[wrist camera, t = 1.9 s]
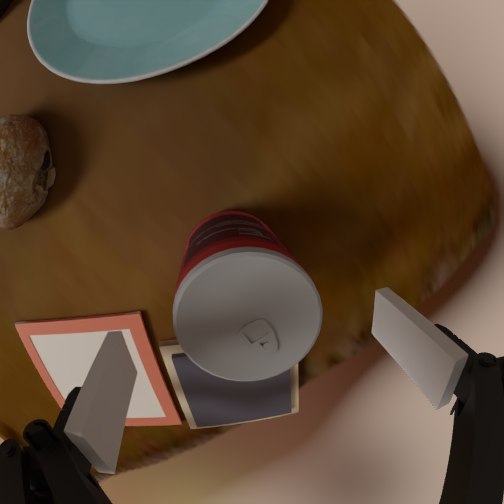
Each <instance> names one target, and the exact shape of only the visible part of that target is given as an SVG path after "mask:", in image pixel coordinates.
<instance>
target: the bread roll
mask: <svg viewBox="0 0 504 504" xmlns="http://www.w3.org/2000/svg"><path fill="white" fill-rule="evenodd" d="M55 176H56V172H55V167H53V165H52V155H51V149H50V146H49V140H48V137H47V132H46V131H45V129H44V127H43V126H42V125H41V124H40V123H39V122H38V121H37V120H35V119H34V118H32V117H29V116H26V115H8V116H4V117H1V118H0V229H2V230H4V229H9V230H10V229H14V228H17V227H19V226H21V225H23V224H24V223H25V222H26V221H27V220H28V219H30V218H31V217H32V216H33V215H34V213H35V212H36V211H38V210H39V209H40V208H41V206H42V205H43V204H44V202H45V200H46V197H47V194H48V188H49V187H51V186H52V185H53V184H54V181H55Z"/></svg>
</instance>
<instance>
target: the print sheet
mask: <svg viewBox="0 0 504 504" xmlns="http://www.w3.org/2000/svg"><path fill="white" fill-rule="evenodd" d="M15 327H16V329H17V331H18V333H19V335H20V337H21V340H22V342H23V344H24V346H25V348H26V350H27V352H28V354H29V355H30V357H31V359H32V361H33V363H34V365H35V367H36V368H37V370H38V372H39V374H40V375H41V377H42V379H43V381H44V382H45V384H46V386H47V387H48V389H49V390H50V392H51V394H52V395H53V397H54V398H55V400H56V401H57V403H58V404H59V406H60V407H61V409H62V407H63V404H65V403H64V402H65V400H66V398H67V396H68V394H69V393H70V392H71V391H72V390H73V389H74V388H75V387H82V385H83V383H84V381H85V379H86V377H87V374H88V372H89V370H90V368H91V366H92V364H93V361H94V359H95V357H96V355H97V353H98V351H99V349H100V347H101V345H102V343H103V341H104V339H105V337H106V335H107V333H108V332H112V331H122V334H123V337H124V339H125V342H126V345H127V347H128V350H129V352H130V355H131V358H132V360H133V362H134V365H135V367H136V370H137V372H138V373H137V377H136V381H135V384H134V388H133V392H132V396H131V400H130V404H129V408H128V413H127V417H126V421H125V426H158V425H178V424H182V420H181V418H180V416H179V414H178V411H177V409H176V407H175V404H174V402H173V399H172V397H171V395H170V392H169V390H168V387H167V385H166V382H165V380H164V377H163V375H162V372H161V369H160V367H159V364H158V361H157V358H156V356H155V353H154V350H153V347H152V344H151V341H150V338H149V335H148V332H147V329H146V326H145V323H144V320H143V317H142V313H141V311H134V312H125V313H116V314H107V315H96V316H86V317H75V318H63V319H50V320H36V321H20V322H16V323H15Z"/></svg>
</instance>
